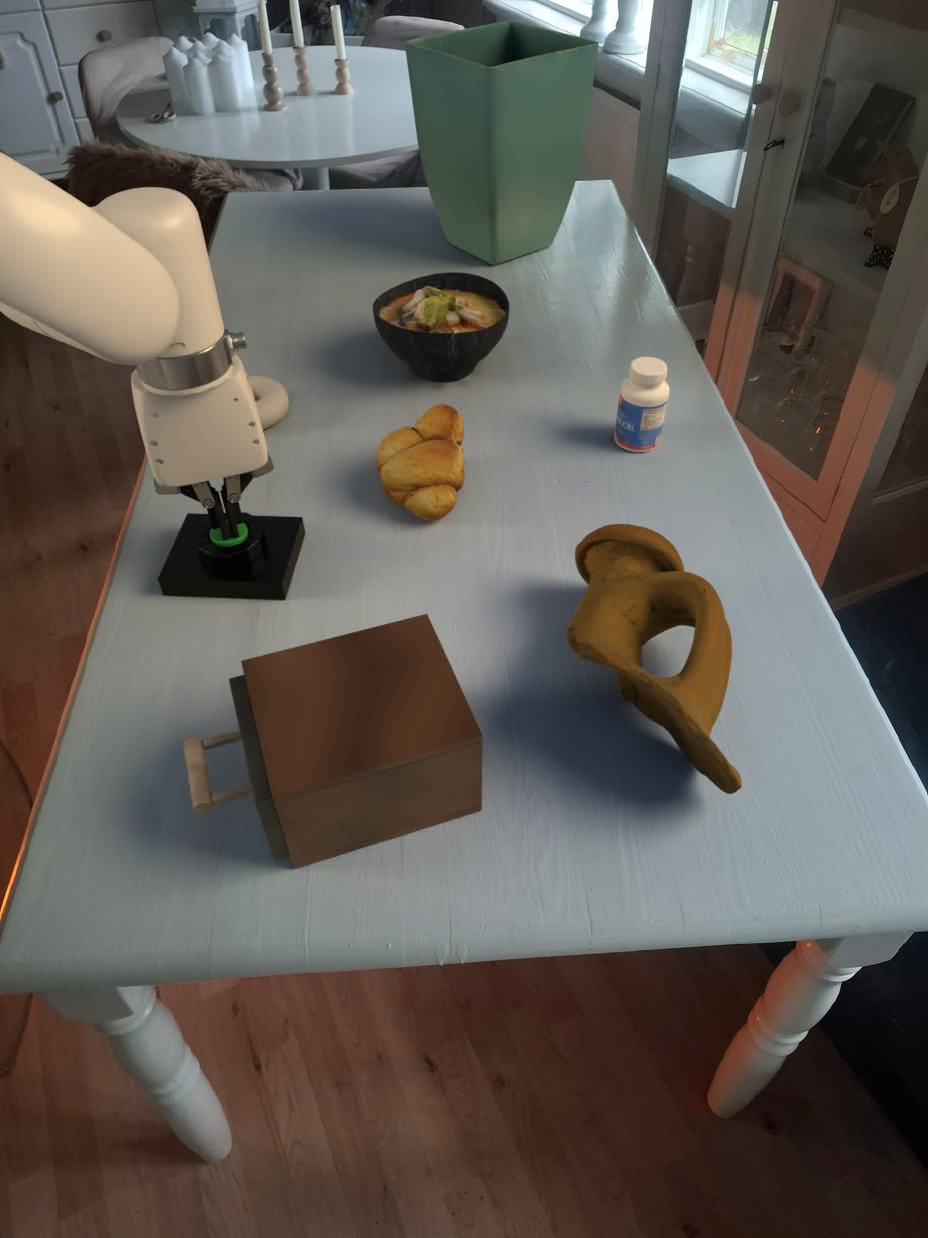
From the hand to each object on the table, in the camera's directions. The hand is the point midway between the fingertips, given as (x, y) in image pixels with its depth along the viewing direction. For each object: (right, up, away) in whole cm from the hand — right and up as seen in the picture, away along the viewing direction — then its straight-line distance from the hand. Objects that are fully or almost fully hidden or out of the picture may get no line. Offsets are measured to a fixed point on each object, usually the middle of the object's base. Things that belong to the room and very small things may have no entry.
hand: (229, 529), depth 83 cm
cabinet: (+15, -21, -15) cm, 30 cm away
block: (0, -3, +3) cm, 4 cm away
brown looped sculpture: (+38, -15, -9) cm, 42 cm away
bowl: (+20, +25, +30) cm, 44 cm away
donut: (-3, +16, +22) cm, 28 cm away
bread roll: (+18, +5, +11) cm, 22 cm away
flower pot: (+28, +52, +57) cm, 83 cm away
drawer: (+11, -21, -16) cm, 29 cm away
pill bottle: (+43, +12, +18) cm, 48 cm away
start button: (0, -1, +1) cm, 2 cm away
